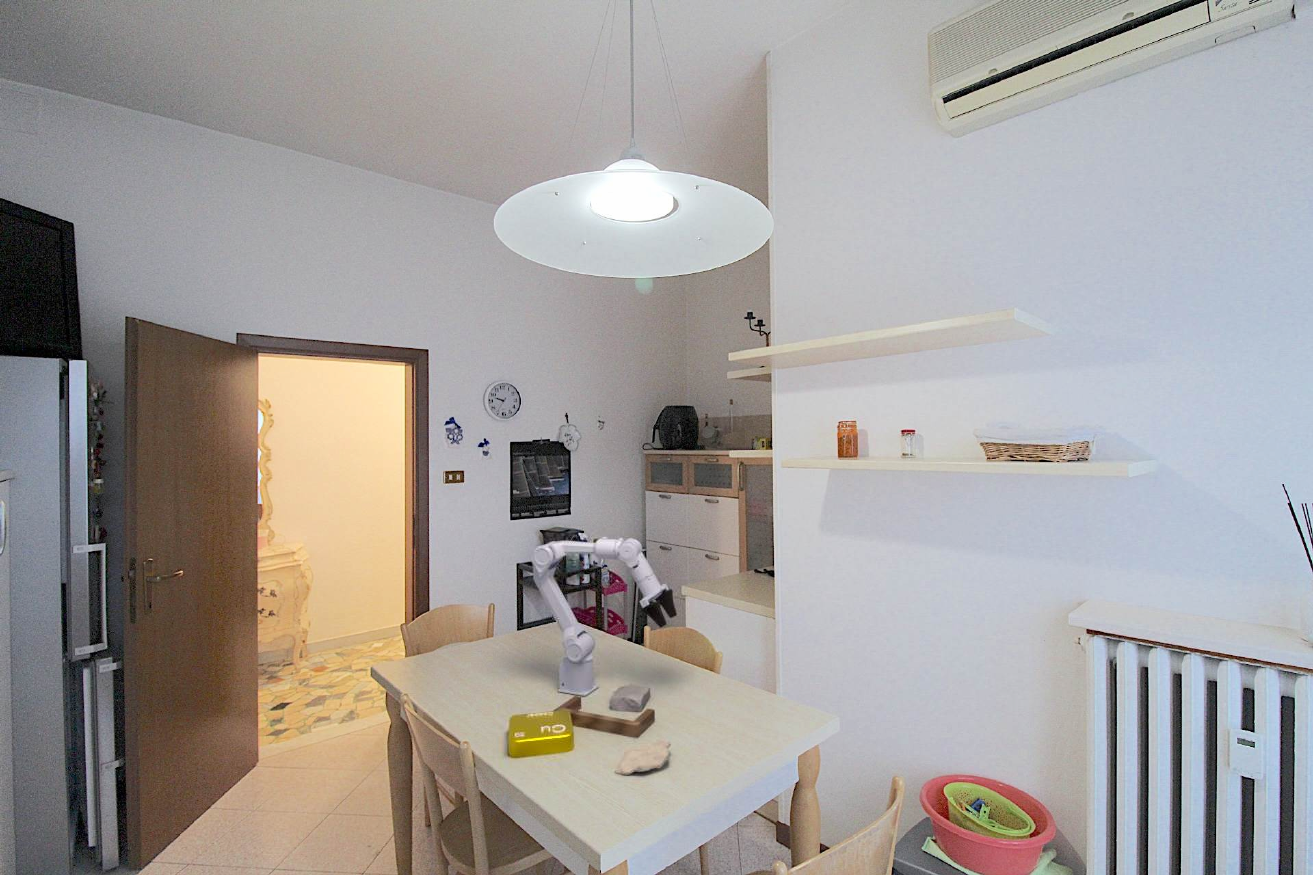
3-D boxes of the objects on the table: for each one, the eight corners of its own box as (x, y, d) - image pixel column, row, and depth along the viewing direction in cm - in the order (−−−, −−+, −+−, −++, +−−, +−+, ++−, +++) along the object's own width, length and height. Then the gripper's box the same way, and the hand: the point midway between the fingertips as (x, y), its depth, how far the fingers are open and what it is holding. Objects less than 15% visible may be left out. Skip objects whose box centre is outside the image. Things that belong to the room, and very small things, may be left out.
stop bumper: (554, 721, 160) (553, 709, 160) (575, 706, 169) (574, 695, 169) (637, 738, 150) (637, 725, 150) (654, 721, 159) (654, 709, 159)
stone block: (608, 718, 166) (644, 713, 164) (604, 700, 167) (640, 694, 165) (620, 702, 178) (653, 697, 176) (616, 685, 178) (649, 680, 177)
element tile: (569, 725, 159) (569, 706, 159) (574, 753, 144) (574, 732, 144) (509, 732, 156) (509, 712, 156) (508, 761, 141) (508, 739, 141)
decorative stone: (652, 745, 147) (604, 775, 137) (649, 729, 147) (601, 758, 137) (685, 754, 140) (637, 786, 129) (682, 737, 140) (634, 768, 129)
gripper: (645, 579, 169) (670, 624, 167) (666, 565, 182) (689, 606, 181) (625, 590, 172) (649, 634, 170) (647, 575, 185) (670, 616, 183)
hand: (668, 621), depth 176 cm, fingers open, 7 cm apart
